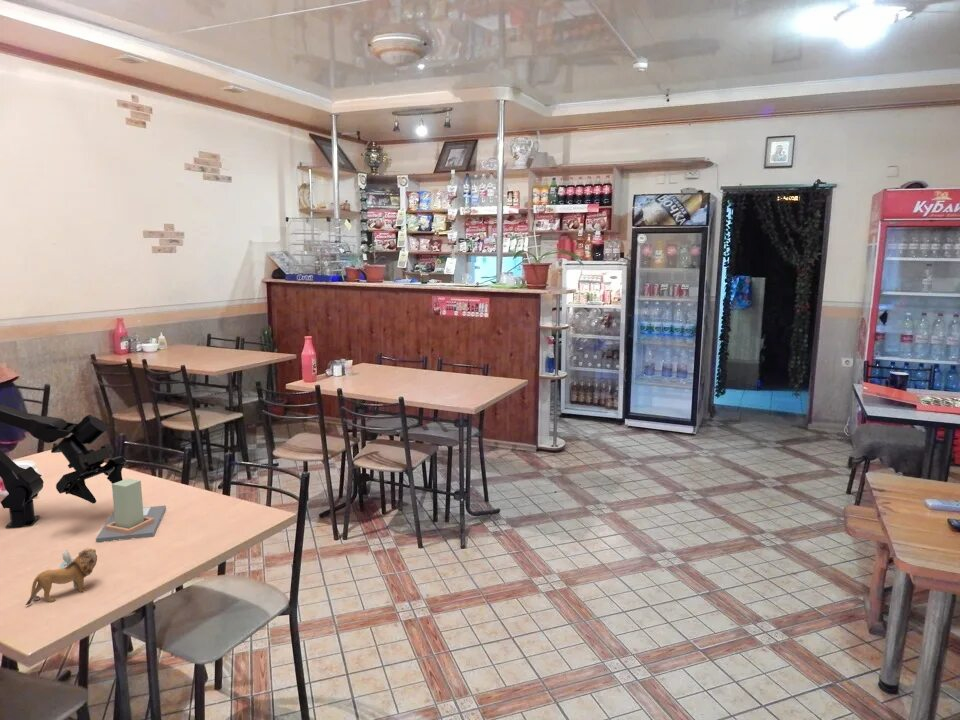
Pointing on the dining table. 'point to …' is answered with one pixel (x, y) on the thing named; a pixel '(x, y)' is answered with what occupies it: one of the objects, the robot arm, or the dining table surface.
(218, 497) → the dining table surface
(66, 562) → the pacifier
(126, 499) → the pillar
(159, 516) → the baseplate
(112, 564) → the dining table surface
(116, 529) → the collar
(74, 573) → the lion figurine
